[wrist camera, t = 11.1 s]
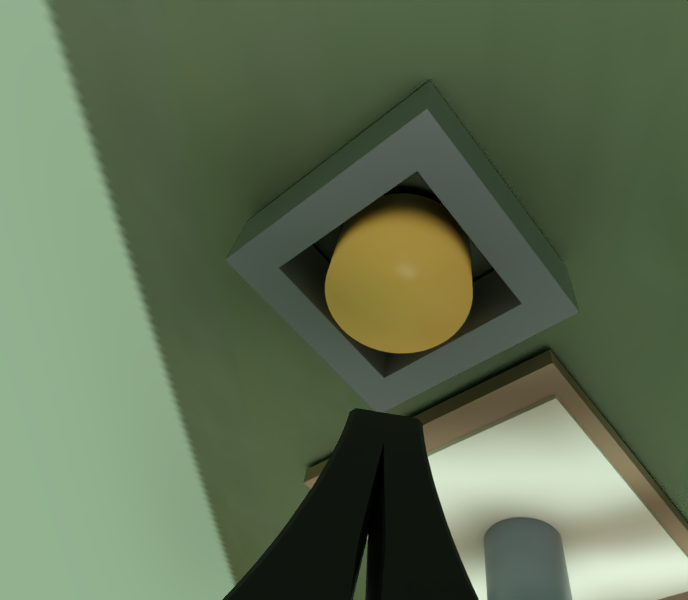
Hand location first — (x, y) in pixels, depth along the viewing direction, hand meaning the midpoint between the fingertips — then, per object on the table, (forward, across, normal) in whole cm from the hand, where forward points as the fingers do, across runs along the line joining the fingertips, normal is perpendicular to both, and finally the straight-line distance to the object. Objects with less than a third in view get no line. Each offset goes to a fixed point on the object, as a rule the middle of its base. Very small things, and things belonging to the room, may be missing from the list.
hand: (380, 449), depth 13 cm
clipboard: (+9, -6, +12) cm, 16 cm away
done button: (+8, 0, 0) cm, 8 cm away
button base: (+9, 0, 0) cm, 9 cm away
